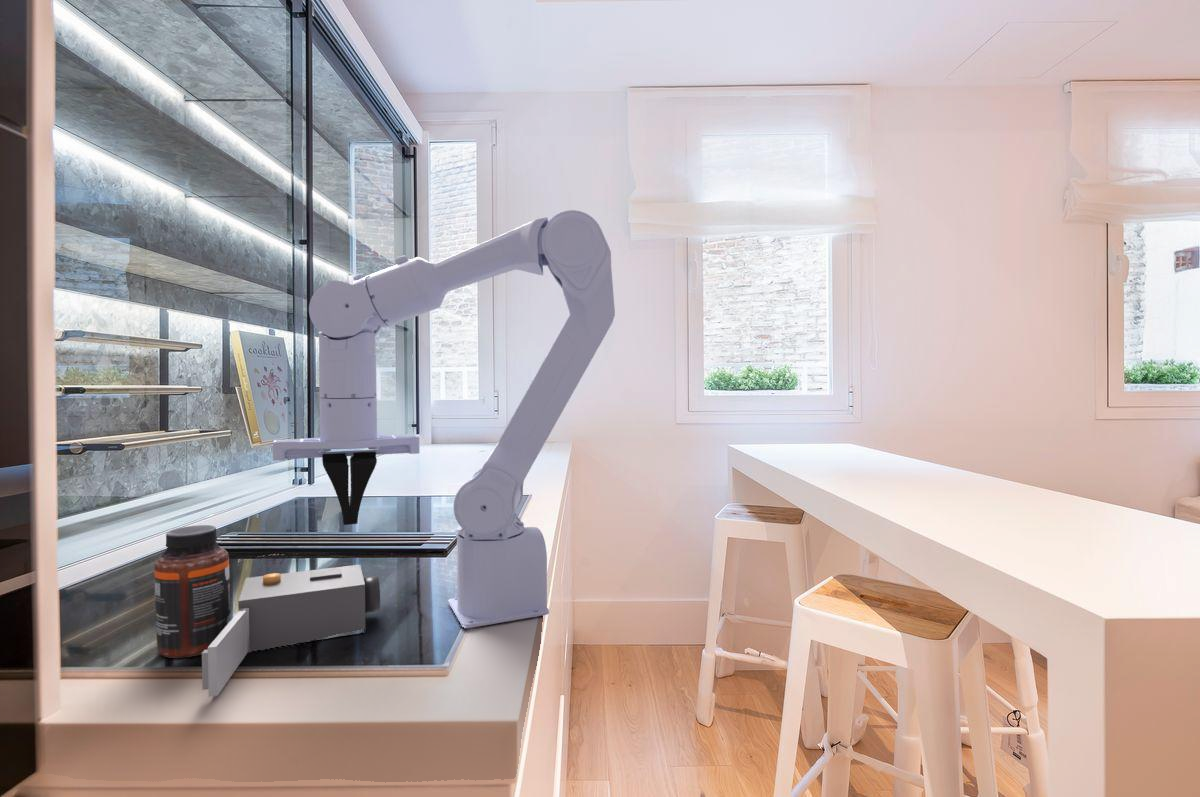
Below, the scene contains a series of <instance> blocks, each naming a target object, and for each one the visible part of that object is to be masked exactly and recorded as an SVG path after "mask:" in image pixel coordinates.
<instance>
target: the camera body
mask: <svg viewBox="0 0 1200 797" xmlns="http://www.w3.org/2000/svg"><path fill="white" fill-rule="evenodd" d="M380 587H381V586H380V581H379V576H369V577H364V575H363V570H362V565H361V564H354V565H345V566H337V567H327V568H320V569H311V570H302V571H301V570H300V571H293V572H286V573H285V572H284V573H278V572H274V573H268V574H264V575H261V576H251V577H245V579H244V582H243V585H242V589H241V592H240V595H239V598H238V602H237V603H238V606H237V607H238V610H239V609H241V608H249V639H250V651H249V652H248V653H253V652H252V651H255V652H258V651H257V650H261V651H266V650H265V649H267V650H271V649H270V648H273V649H276V648H275V647H279V648H282V647H281V646H285V645H288V644H292V643H298V642H303V641H308V640H314V639H321V638H324V637H328V636H332V635H336V634H341V633H346V632H352V631H357V630H361V629H365V630H366V614H368V613H375V612H380V610H381V588H380ZM285 647H286V646H285ZM248 653H247V654H248Z"/></svg>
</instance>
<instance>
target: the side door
mask: <svg viewBox="0 0 1200 797" xmlns="http://www.w3.org/2000/svg"><path fill="white" fill-rule="evenodd" d="M249 651H250V639H249V608H241V609H239V608H238V611H237V613H236V614H235V615H234V616H233V618H231V621H230V622H229V623H228V624H227V626H226V627H225V628H224V629H223V630H222V631H221V633H220V634H219V635H218V636H217V637H216V638H215V640H214V641H213V642H212V643H211V644H210V645H209V647H208V650H204V651H203V652H202V655H201V672H202V673H201V675H202V676H201V678H202V680H201V684H202V691H205V690H206V691H207V690H208V697H211V698H212V697H218V695H219V694H220V692H221V691H222V690H223V689H224V687H225V685H226V684H227V683H228V681H229V680H230V678H231V677H232V675H233V674H234V673H235V671H236V670H237V668H238V667H239V665H240V664H241V663H242V661H243V660H244V659H245V657H246V656H247V654H248V652H249ZM249 653H250V652H249Z"/></svg>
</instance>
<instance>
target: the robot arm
mask: <svg viewBox="0 0 1200 797" xmlns="http://www.w3.org/2000/svg"><path fill="white" fill-rule="evenodd" d="M394 261H395V265H393V266H389V267H387V268H384V269H382V270H379V271H376V272H373V273H371V274H368V275H365V274H364V273H359V274H356V275H354V276H353V283H349V282H347V281H344V280H340V279H339V280H337V279H336V280H330V281H329V282H327V283H326V284H324V285H322V286H321V287H320V288H318V289H317V290H316V291H315V292H314V293H313V295H312V296H311V298H310V302H309V305H308V314H309V318H310V320H311V323H312V325H313V326H314V327H315V329H316V330H318V376H319V377H318V378H319V381H318V384H319V385H318V387H319V389H318V390H319V392H318V394H319V395H318V396H319V397H318V398H319V437H311V438H310V437H309V438H308V437H307V438H294V439H293V438H292V439H291V438H290V439H275V440H273V441H272V460H273V461H274V462H277V461H285V460H295V459H296V460H297V459H314V458H315V459H316V458H322V459H321V462H322V466H323V469H324V470H325V472H326V474H327V476H328V478H329V480H330V482H331V485H332V487H333V489H334V491H335V494H336V497H337V499H338V503H339V507H340V510H341V516H342V525H343V526H349V525H358V520H359V519H358V518H359V512H360V509H361V508H360V507H361V504H362V501H363V497H364V493H365V491H366V488H367V486H368V484H369V481H370V478H372V474H373V472H374V470H375V469H376V466H377V462H378V458H377V456H379V455H399V454H411V455H415V454H418V455H419V454H420V436H419V435H417V434H411V435H410V434H407V435H406V434H405V435H404V434H403V435H401V434H400V435H399V434H398V435H396V434H395V435H393V434H391V435H388V434H387V435H383V434H382V435H378V421H377V420H378V417H377V416H378V411H377V407H378V404H377V400H378V398H377V355H376V336H377V335H378V334H379V332H380V331H381V329H382V327H383V328H388V327H391V326H394V325H398V323H399V324H400V323H402V322H404V321H407V320H410V319H412V318H415V317H418V316H420V315H424V314H426V313H428V312H431V311H434V310H436V309H440V307H441V305H442V303H443V301H444V299H445V298H446V295H447V294H448V292H450V291H454V290H458V289H461V288H463V287H466V286H469V285H473V284H476V283H479V282H482V281H484V280H487V279H491V278H494V277H497V276H500V275H503V274H506V273H508V272H512V271H515V270H516V271H522V272H525V273H531V274H532V275H533V274H534V275H537V276H544V266H545V267H547V268H548V271H549V272H550V273H551V275H552V276H553V278H554V280H555V281H556V282H557V284H558V285H559V287H561V289H562V292H563V296H564V300H565V302H566V307H567V309H568V312H569V314H568V317H567V318H566V321H565V322H564V324H563V325H562V326H561V329H560V331H559V332H558V335H557V336H556V339H555V340H554V342H553V343H552V345H551V347H550V348H549V351H548V352H547V354H546V356H545V358H544V359H543V361H542V363H541V365H540V367H539V368H538V371H537V372H536V374H535V375H534V377H533V379H532V381H531V383H530V384H529V386H528V388H527V390H526V391H525V393H524V395H523V397H522V399H521V400H520V402H519V405H518V406H517V408H516V409H515V411H514V413H513V415H512V417H511V418H510V421H509V422H508V423H507V426H506V427H505V429H504V431H503V433H502V435H501V436H500V438H499V440H498V441H497V443H496V445H495V446H494V448H493V450H491V452H490V454H489V456H488V457H487V459H486V460H485V462H484V464H483V466H482V467H481V468H480V469H478V470H477V471H475V473H474V474H473V476H472V477H471V479H468V480H467V481H466V482H465V483H464V484H463V485H461V487H460V488H459V489H458V491H457V492H456V494H455V497H454V500H453V514H454V517H455V520H456V522H457V524H458V526H457V527H456V532H457V533H456V571H457V572H456V574H457V575H456V581H457V582H456V583H457V584H456V589H457V590H456V591H457V592H456V595H457V596H456V597H453V598H449V599H448V600H447V604H448V603H449V605H450V606H451V608H452V609H453V611H454V613H455V615H456V616H457V618H458V620H459V621H460V623H461V624H462V625H464V626H466V629H473V628H477V627H482V626H489V625H494V624H501V623H505V622H512V621H513V622H514V621H518V620H519V621H520V620H524V619H530V618H536V617H541V616H547V615H549V614H550V609H549V608H548V607H547V606H548V605H547V604H548V591H547V590H548V555H547V554H548V552H547V546H546V542H545V541H546V540H545V537H544V535H543V533H542V531H541V529H540V528H539V527H537V526H525V523H524V522H523V521H521V518H520V517H519V516H518V514H517V513H515V512H516V510H517V509H518V507H519V506H520V505H521V502H522V499H523V495H524V482H525V480H526V477H527V475H528V473H529V472H530V470H531V469H532V466H533V465H534V463H535V461H536V459H537V458H538V455H539V454H540V452H541V450H542V448H543V446H544V445H545V443H546V441H547V440H548V438H549V436H550V435H551V433H552V431H553V430H554V428H555V425H556V424H557V422H558V420H559V419H560V416H562V414H563V412H564V409H565V408H566V406H567V404H568V402H569V401H570V400H571V397H572V396H573V394H574V391H575V390H576V388H577V387H578V385H579V383H580V381H581V379H582V377H583V376H584V375H585V372H586V370H587V369H588V367H589V366H590V363H591V361H592V359H593V358H594V357H595V354H596V353H597V351H598V349H599V347H600V346H601V344H602V341H603V340H604V339H605V337H606V336H607V333H608V331H609V330H610V328H611V326H612V324H613V322H614V319H615V316H616V315H615V314H616V310H615V309H616V308H615V296H614V284H613V283H614V282H613V272H612V251H611V249H610V246H609V244H608V242H607V239H606V236H605V234H604V232H603V230H602V228H601V226H600V224H599V223H598V222H597V220H596V219H594V217H592V216H591V215H589V214H588V213H586V212H583V211H580V210H577V209H576V210H573V209H572V210H571V209H569V210H564V211H562V212H559V213H557V214H555V215H553V216H552V218H551V219H550V220H549V218H548V217H547V216H545V217H541V218H537V219H533V220H531V221H529V222H528V223H524V224H522V225H521V226H519V227H516V228H514V229H512V230H509V231H506V232H505V233H502V234H500V235H498V236H496V237H493V238H491V239H488V240H487V241H483V242H481V243H479V244H476V245H474V246H472V247H469V248H467V249H465V250H462V251H460V252H457V253H455V254H453V255H451V256H448V257H446V258H444V259H442V260H440V261H437V262H435V263H434V262H430V261H429V260H427V259H425V258H422V257H419V256H416V257H413V258H411V259H410V257H409V256H407V255H402V256H398V257H396V258H395V259H394ZM352 449H358V450H352ZM359 449H361V450H359ZM331 450H336V451H331ZM337 450H339V451H337ZM348 457H350V458H349V459H348ZM349 464H350V465H349ZM349 470H350V473H349ZM349 475H350V498H349ZM455 599H456V600H455ZM449 605H448V606H449ZM450 606H449V607H450ZM451 608H450V609H451ZM454 613H453V614H454ZM455 615H454V616H455ZM457 618H456V619H457ZM458 620H457V621H458Z"/></svg>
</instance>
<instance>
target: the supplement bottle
mask: <svg viewBox="0 0 1200 797" xmlns="http://www.w3.org/2000/svg"><path fill="white" fill-rule="evenodd" d="M165 540H166V541H165V547H166V550H165V551H164V553H162V555H160V556H159V557H158V558H157V559H156V560H155V562H154V567H153V568H154V570H153V571H154V599H155V601H154V602H155V605H154V606H155V628H156V629H155V630H156V645H157V647H156V648H157V652H158V654H159V655H160V656H162V657H165V658H169V659H182V658H185V659H186V657H187V658H194V657H199V656H202V652H203V651H204V650H208V647H209V645H210V644H211V643H212V642H213V641H214V640H215V638H216V637H217V636H218V635H219V634H220V633H221V631H222V630H223V629H224V628H225V627H226V626H227V624H228V623H229V622H230V621H231V620H232V617H231V614H232V613H231V593H230V592H231V588H230V585H231V581H230V557H229V552H228V551H227V549H225V548H224V547H221V546H220V545H219V544H218V543H217V540H218V537H217V527H216V526H214V525H211V524H209V525H207V524H205V525H204V524H201V525H200V524H199V525H192V526H191V525H189V526H183V527H179V528H175V529H172V530H169V531H167V532H166V534H165ZM198 655H199V656H198ZM193 656H194V657H193Z"/></svg>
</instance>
